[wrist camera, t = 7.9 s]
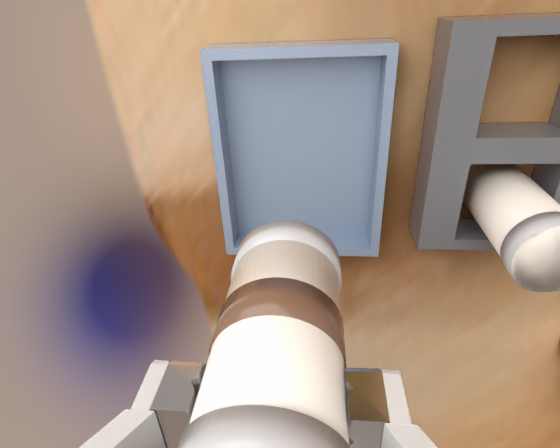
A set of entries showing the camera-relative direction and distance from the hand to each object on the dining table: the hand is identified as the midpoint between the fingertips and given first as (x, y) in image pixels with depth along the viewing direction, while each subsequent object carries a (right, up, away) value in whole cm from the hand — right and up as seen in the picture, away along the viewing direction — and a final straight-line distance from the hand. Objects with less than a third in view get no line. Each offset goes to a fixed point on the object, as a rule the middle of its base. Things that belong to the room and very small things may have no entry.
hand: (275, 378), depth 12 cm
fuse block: (+15, +10, +14) cm, 23 cm away
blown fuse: (0, +3, +5) cm, 5 cm away
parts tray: (+2, +9, +16) cm, 19 cm away
